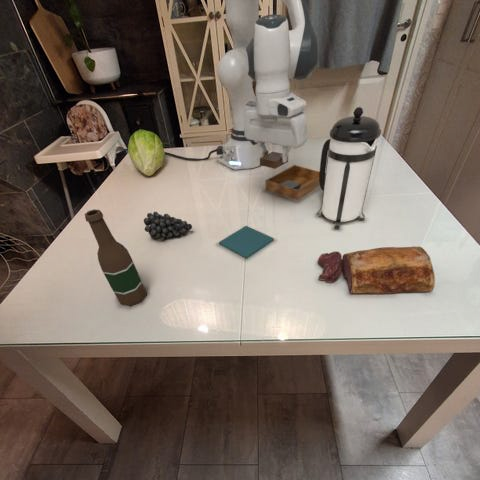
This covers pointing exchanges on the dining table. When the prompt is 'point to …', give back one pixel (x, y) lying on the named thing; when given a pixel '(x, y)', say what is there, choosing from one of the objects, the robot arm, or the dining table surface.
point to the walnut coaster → (271, 160)
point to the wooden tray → (296, 174)
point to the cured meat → (381, 270)
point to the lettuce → (146, 151)
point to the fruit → (165, 226)
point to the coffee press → (347, 166)
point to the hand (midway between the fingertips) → (274, 159)
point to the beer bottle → (116, 262)
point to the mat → (246, 241)
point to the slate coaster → (292, 184)
